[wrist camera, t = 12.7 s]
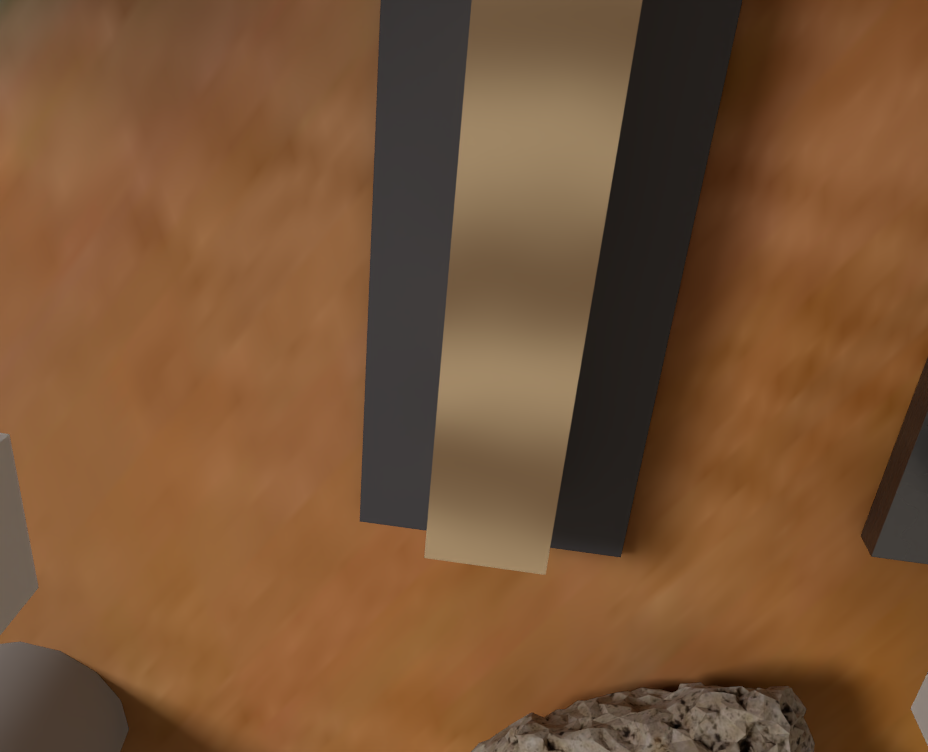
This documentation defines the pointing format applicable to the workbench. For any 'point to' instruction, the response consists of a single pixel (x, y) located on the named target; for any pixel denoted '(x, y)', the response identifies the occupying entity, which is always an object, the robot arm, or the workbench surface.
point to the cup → (55, 704)
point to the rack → (904, 490)
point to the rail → (523, 267)
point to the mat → (618, 273)
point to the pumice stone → (666, 723)
